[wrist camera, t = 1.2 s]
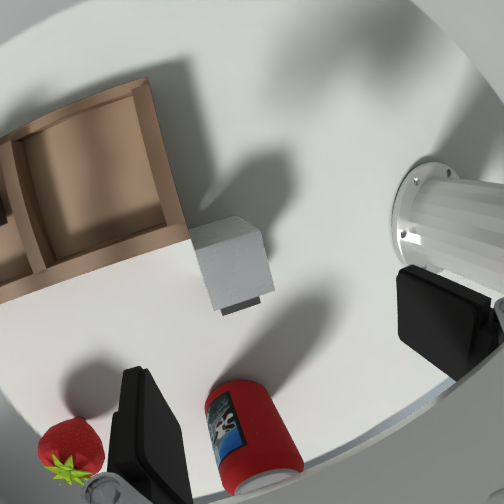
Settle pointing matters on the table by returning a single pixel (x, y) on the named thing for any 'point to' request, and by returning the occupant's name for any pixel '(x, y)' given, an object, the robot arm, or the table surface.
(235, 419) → the beverage can
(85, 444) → the strawberry
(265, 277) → the grey block
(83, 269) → the wooden divided tray
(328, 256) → the table surface
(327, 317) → the table surface
